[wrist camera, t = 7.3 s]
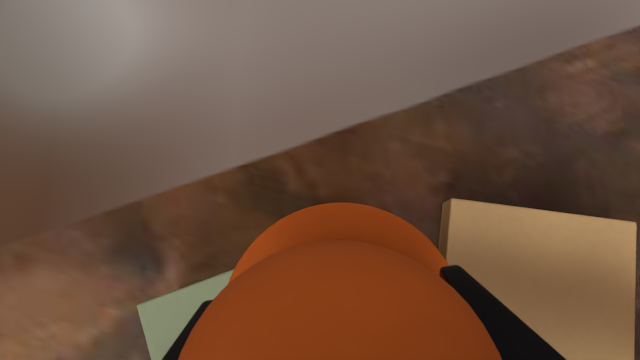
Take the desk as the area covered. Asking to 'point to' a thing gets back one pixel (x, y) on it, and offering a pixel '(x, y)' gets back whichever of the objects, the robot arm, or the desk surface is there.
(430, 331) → the hat
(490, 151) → the desk surface
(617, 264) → the stand
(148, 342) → the sage box
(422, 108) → the desk surface
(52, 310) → the desk surface
